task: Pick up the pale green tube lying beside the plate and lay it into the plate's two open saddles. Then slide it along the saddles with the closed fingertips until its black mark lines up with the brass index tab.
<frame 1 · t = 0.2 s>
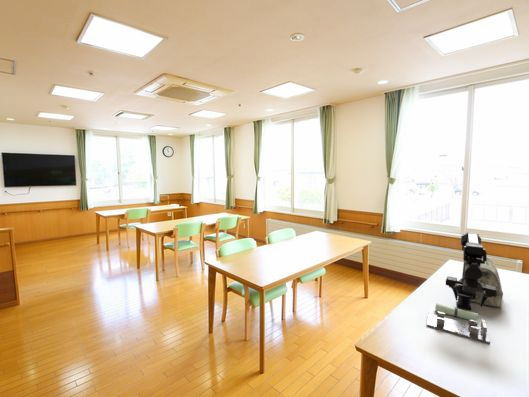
hand: (468, 303, 127), 14 cm above the table, fingers open, 9 cm apart
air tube: (455, 312, 142), point 2 cm above the table
lunch bag: (480, 296, 163), on the table
saddle plate: (456, 328, 131), on the table
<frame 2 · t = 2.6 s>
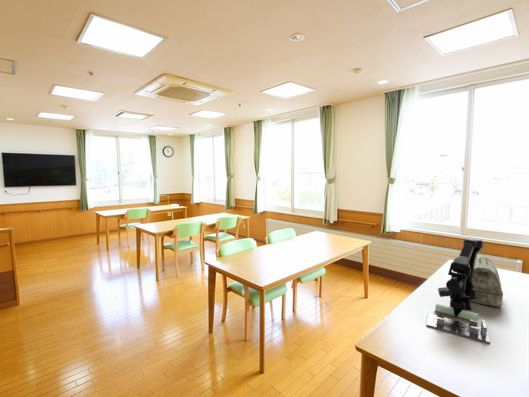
hand: (455, 314, 142), 1 cm above the table, fingers closed on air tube, 4 cm apart
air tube: (455, 312, 142), point 2 cm above the table, touching gripper
everything else where it was.
when the fingers open (4 cm above the table, at t = 6.2 s): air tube drops 2 cm, point 4 cm above the table.
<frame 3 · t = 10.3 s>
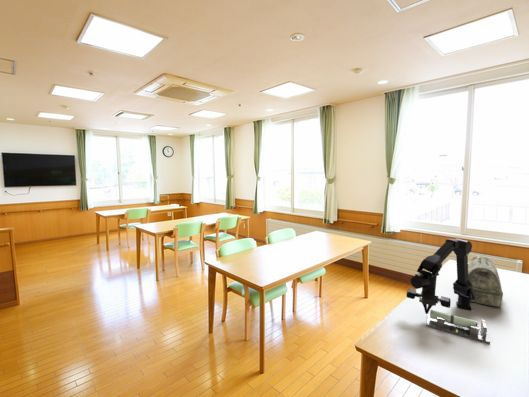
hand: (426, 313, 138), 3 cm above the table, fingers closed
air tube: (451, 319, 132), point 4 cm above the table, touching gripper
everything else where it was.
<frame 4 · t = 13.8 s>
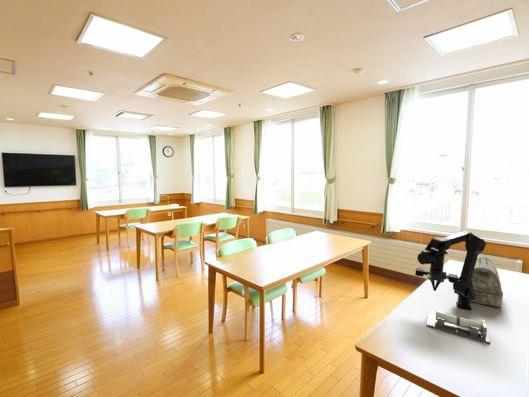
hand: (434, 290, 144), 12 cm above the table, fingers closed
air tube: (457, 321, 130), point 4 cm above the table, tilted 12°, touching saddle plate
everything else where it was.
at the end: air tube 0.5 cm off-centre on the saddle plate, point 4.0 cm above the saddle plate's base; the gripper is holding nothing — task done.
